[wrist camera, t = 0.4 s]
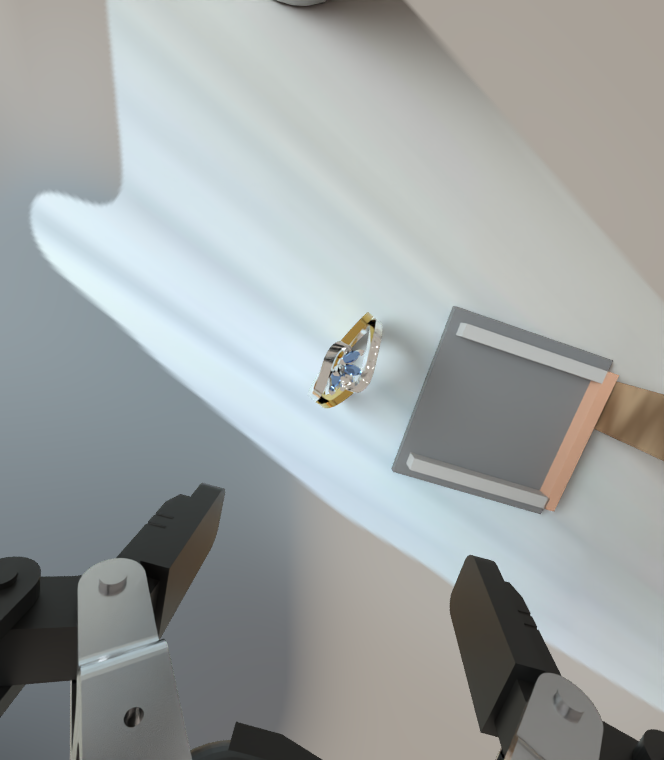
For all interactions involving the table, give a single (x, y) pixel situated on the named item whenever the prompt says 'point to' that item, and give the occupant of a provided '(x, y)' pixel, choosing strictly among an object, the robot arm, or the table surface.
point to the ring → (347, 364)
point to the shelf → (634, 418)
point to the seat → (504, 413)
